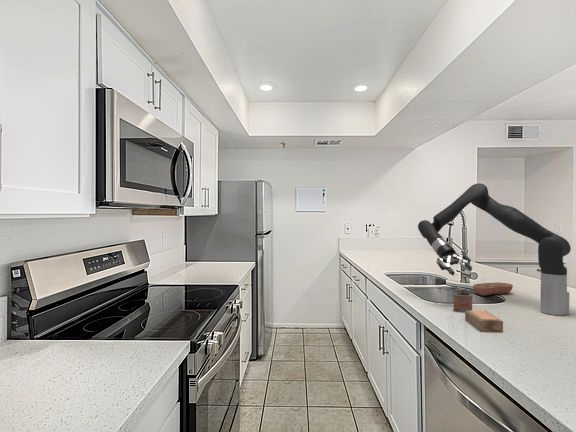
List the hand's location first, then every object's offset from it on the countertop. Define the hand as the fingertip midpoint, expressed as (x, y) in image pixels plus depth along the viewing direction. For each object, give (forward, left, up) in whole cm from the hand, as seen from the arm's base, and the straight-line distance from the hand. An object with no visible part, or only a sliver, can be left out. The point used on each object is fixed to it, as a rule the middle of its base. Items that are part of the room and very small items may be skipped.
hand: (462, 271), depth 162 cm
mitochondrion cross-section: (-27, -31, -17) cm, 44 cm away
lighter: (+1, +4, -17) cm, 18 cm away
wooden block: (+1, +24, -17) cm, 29 cm away
